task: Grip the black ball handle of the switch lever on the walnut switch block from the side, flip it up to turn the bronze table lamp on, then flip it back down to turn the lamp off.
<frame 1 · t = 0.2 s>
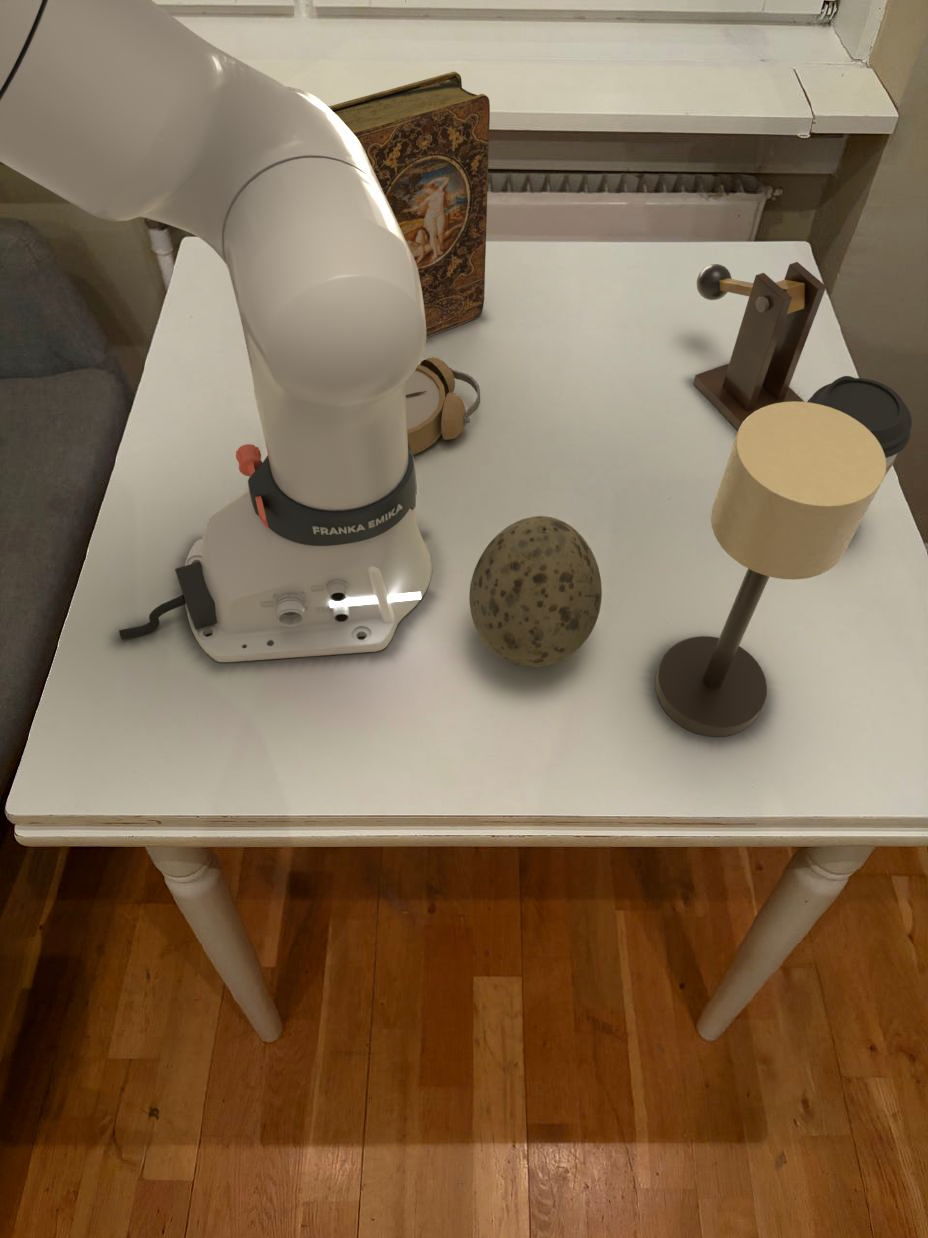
decorative egg: (529, 642, 83), on the table
coffee cup: (810, 520, 92), on the table
book: (410, 327, 108), on the table
switch block: (750, 400, 102), on the table
lamp: (708, 690, 80), on the table
alarm clock: (409, 421, 99), on the table
lever: (746, 288, 96), point 11 cm above the table, hinge at -25.0°
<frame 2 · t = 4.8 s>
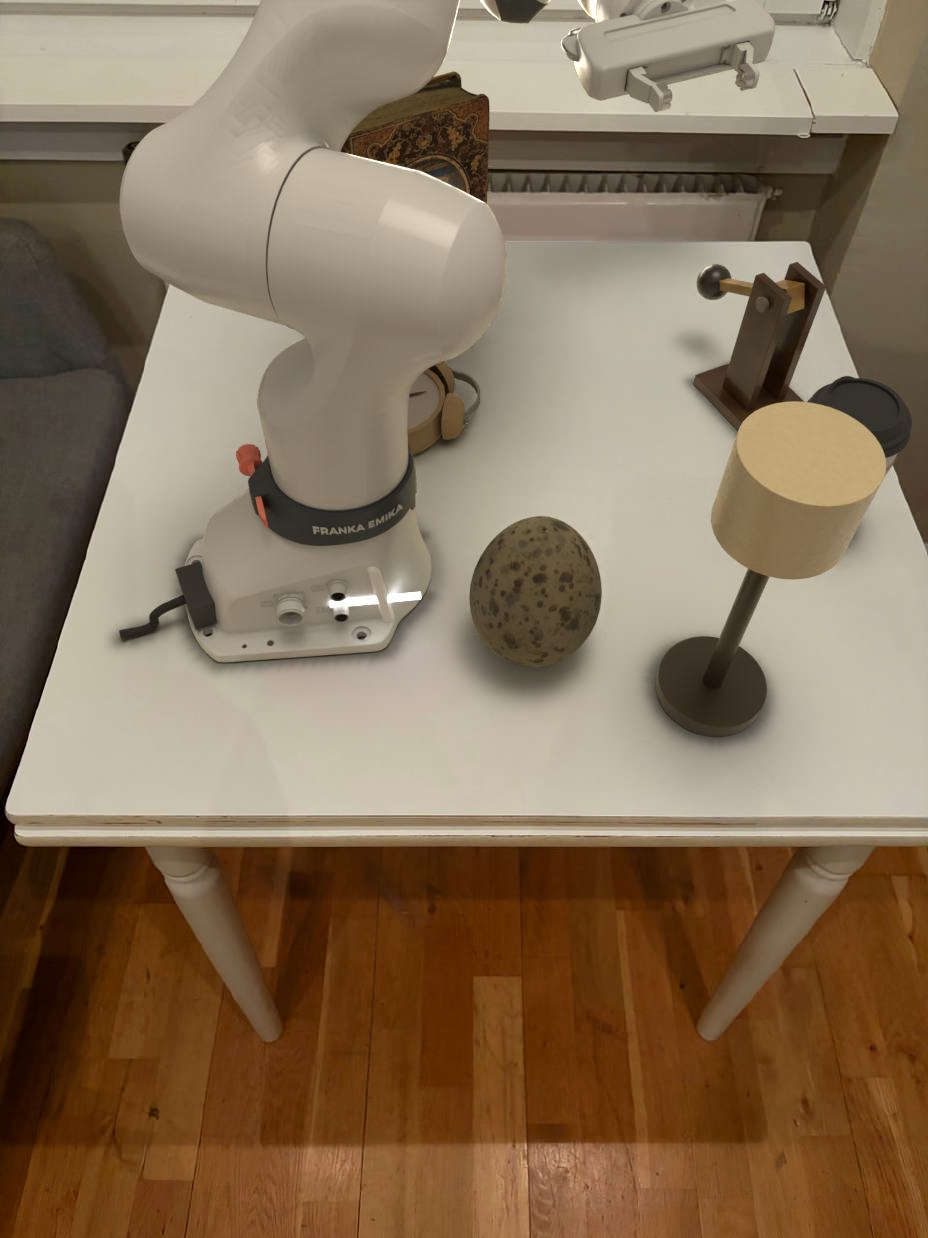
hand: (708, 93, 92), 24 cm above the table, tool horizontal, fingers open, 8 cm apart
nothing on the table moved.
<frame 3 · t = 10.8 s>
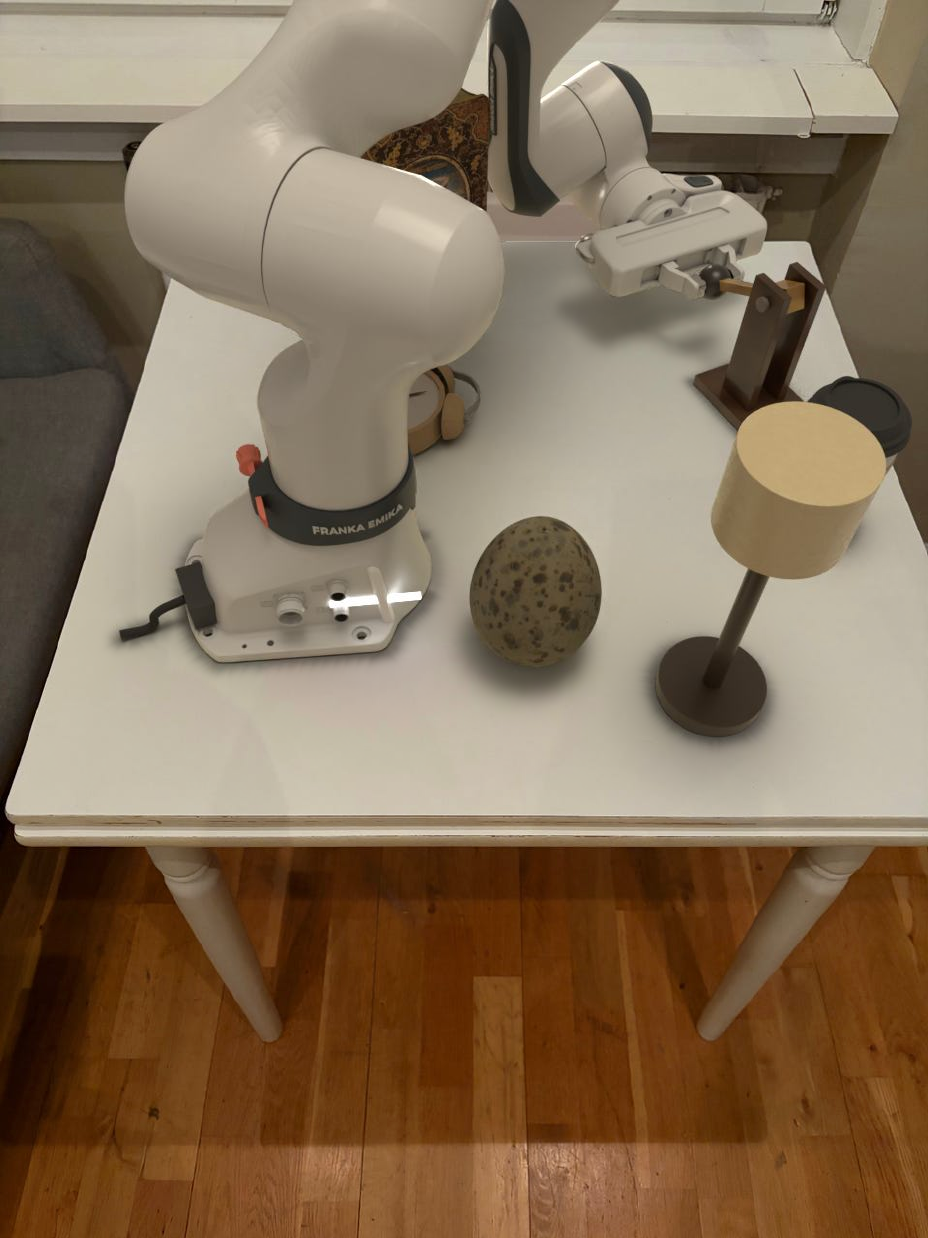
hand: (719, 286, 99), 8 cm above the table, tool horizontal, fingers closed on lever, 3 cm apart
lever: (746, 288, 96), point 11 cm above the table, hinge at -25.0°, touching gripper
everything else where it was.
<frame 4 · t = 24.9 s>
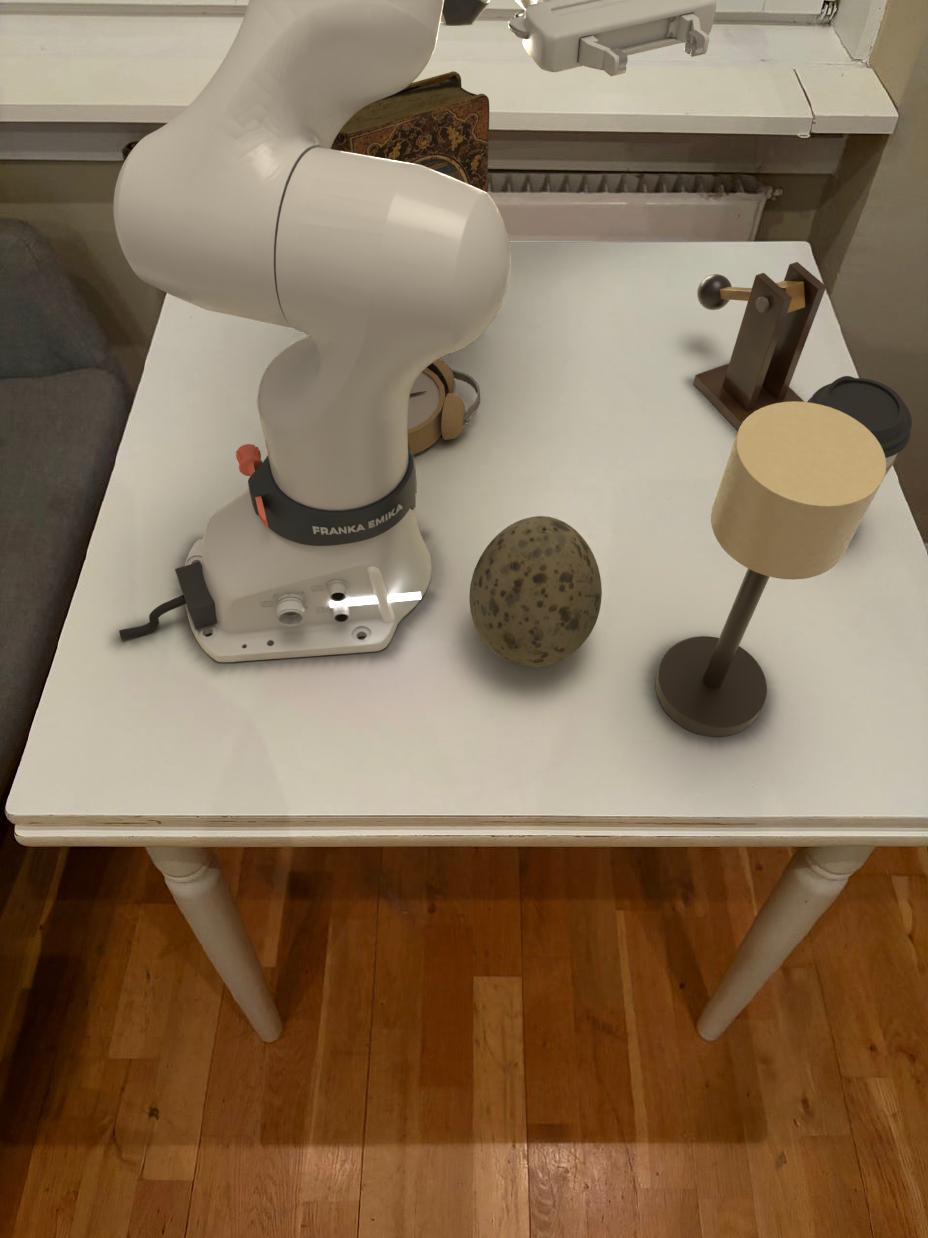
hand: (661, 56, 92), 26 cm above the table, tool horizontal, fingers open, 8 cm apart
lever: (747, 294, 96), point 10 cm above the table, hinge at -30.4°
everything else where it was.
at the end: lever reached +20° during the clip, -30° at the end; lever at -30° (first picture: -25°); lamp moved 0.0 cm from its start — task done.
